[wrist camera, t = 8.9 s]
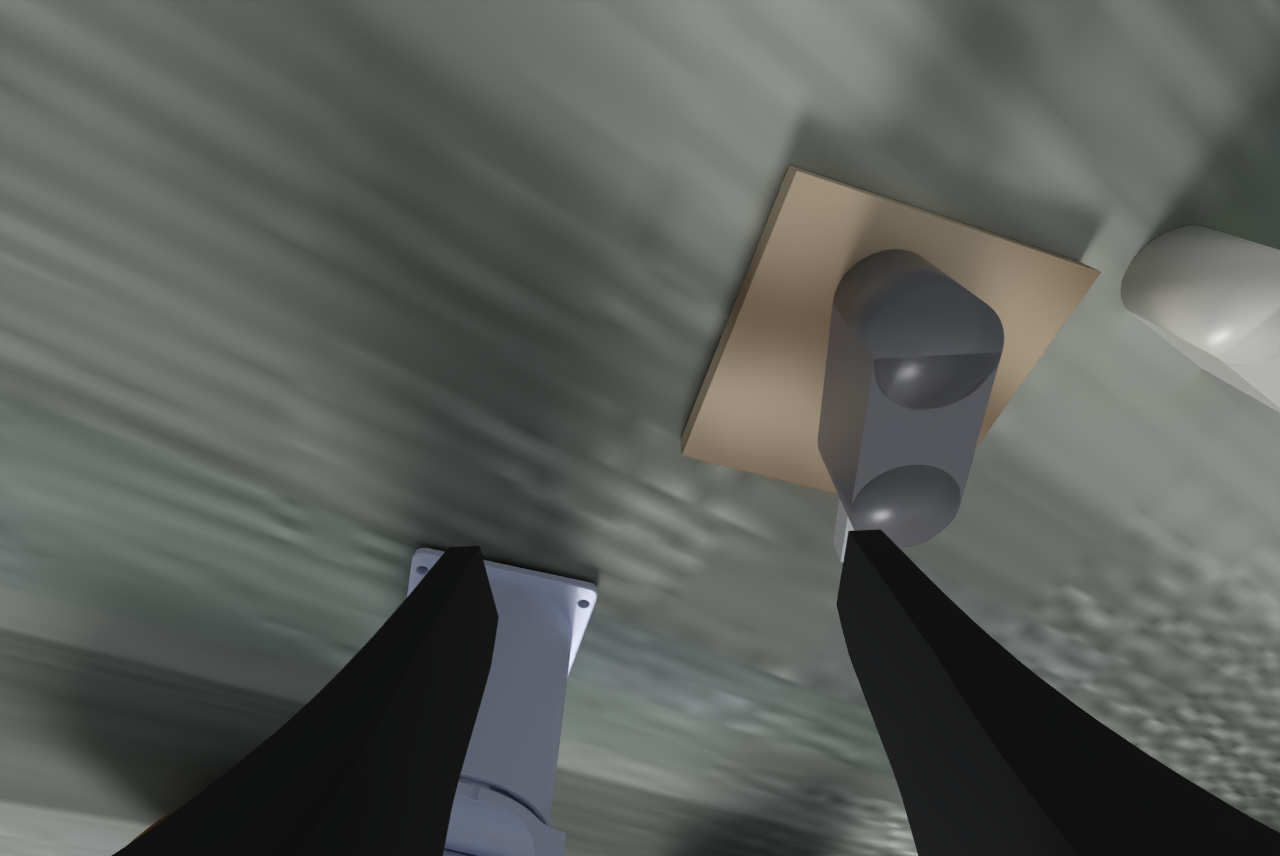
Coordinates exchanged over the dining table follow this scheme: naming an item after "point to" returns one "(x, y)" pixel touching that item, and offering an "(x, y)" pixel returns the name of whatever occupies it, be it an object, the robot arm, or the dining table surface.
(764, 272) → the cork pad
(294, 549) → the dining table surface
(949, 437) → the charcoal plug
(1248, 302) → the offwhite plug
